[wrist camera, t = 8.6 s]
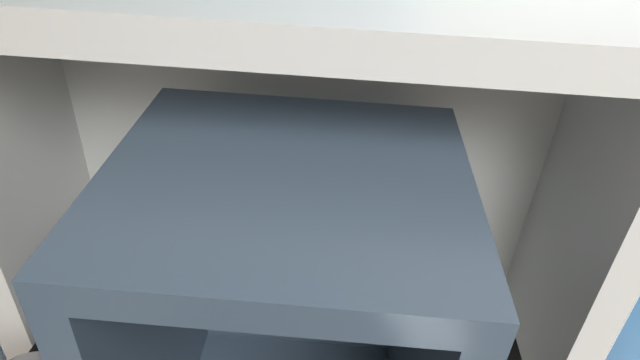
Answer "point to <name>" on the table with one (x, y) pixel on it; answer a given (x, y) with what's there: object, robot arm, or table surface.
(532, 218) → the white crate
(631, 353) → the table surface
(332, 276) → the slate crate
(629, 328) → the table surface
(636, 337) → the table surface
